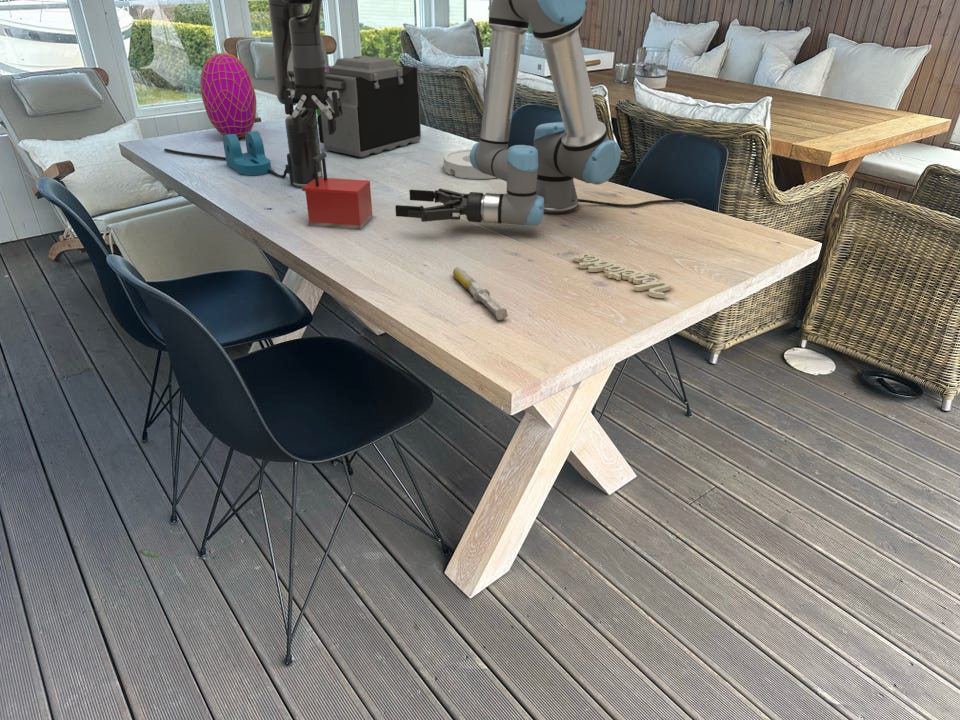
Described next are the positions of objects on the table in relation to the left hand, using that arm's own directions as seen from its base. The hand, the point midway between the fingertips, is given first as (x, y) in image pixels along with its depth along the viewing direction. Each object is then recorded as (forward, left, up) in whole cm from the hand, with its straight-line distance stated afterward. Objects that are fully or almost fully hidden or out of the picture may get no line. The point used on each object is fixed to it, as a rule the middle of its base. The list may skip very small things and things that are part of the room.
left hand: (316, 133), depth 174 cm
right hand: (+22, +1, -16) cm, 28 cm away
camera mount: (-46, +40, -23) cm, 65 cm away
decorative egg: (-75, +79, -23) cm, 111 cm away
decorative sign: (+81, -16, -23) cm, 86 cm away
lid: (+4, 0, -14) cm, 14 cm away
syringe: (+52, -36, -23) cm, 67 cm away
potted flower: (-54, +116, -23) cm, 130 cm away
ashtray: (+27, +61, -23) cm, 70 cm away
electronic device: (-19, +82, -23) cm, 87 cm away
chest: (+5, 0, -23) cm, 23 cm away
